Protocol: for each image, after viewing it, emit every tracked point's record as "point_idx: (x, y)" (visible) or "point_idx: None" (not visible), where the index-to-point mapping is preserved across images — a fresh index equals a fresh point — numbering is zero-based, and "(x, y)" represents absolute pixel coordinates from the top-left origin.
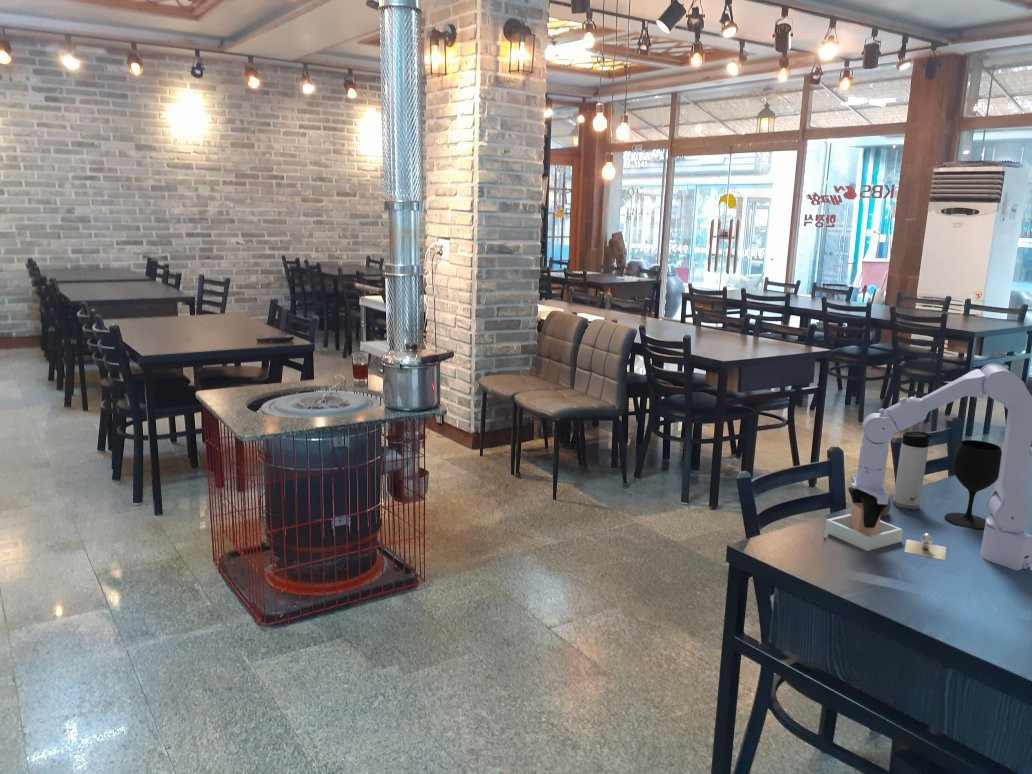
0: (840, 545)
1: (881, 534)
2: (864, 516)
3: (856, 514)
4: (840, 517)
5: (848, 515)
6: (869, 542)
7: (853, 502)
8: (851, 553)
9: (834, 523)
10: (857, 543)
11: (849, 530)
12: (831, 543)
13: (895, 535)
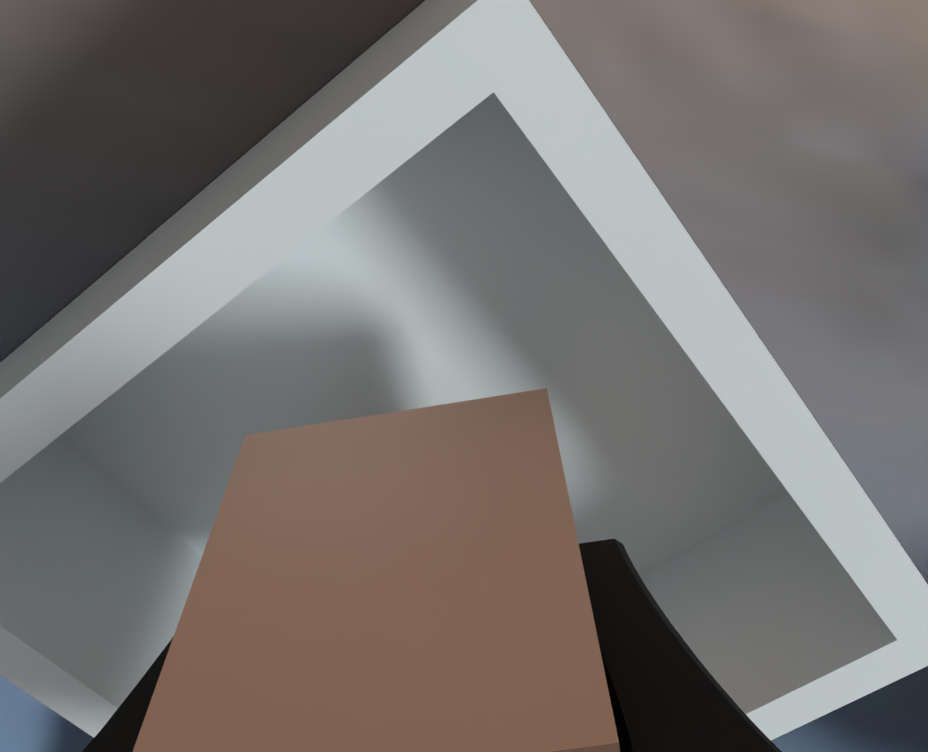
0: (249, 148)
1: (80, 718)
2: (138, 733)
3: (355, 619)
4: (681, 317)
5: (802, 470)
6: None
7: (695, 747)
8: (12, 234)
9: (330, 125)
10: (16, 361)
11: (72, 335)
12: (284, 25)
13: None
